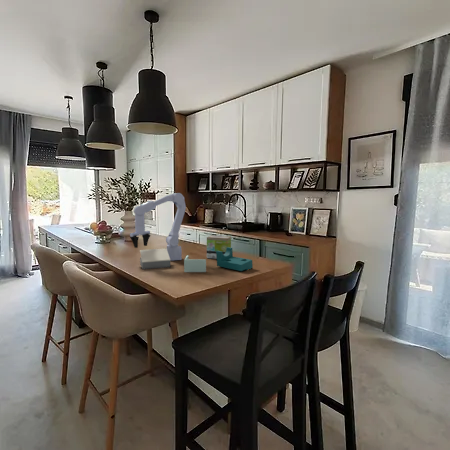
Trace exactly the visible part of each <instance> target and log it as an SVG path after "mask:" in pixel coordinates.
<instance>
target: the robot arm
mask: <svg viewBox="0 0 450 450" xmlns="http://www.w3.org/2000/svg"><path fill="white" fill-rule="evenodd" d="M167 202H172V203H173V204H174V205H175V206H176V208H177V209H176V213H175V216H174V220H173V223H172V226H171V230H170V232H169V233H168V236H166V238H165V242H166V249H167V251H168V254H169V257H170V262H171V261H182V260H183V259H182V246H181V245H179V242H180V241H179V238H180V235H179V234H180V233H179V232H180V229H181V227H182V222H183V219H184V216H185V213H186V208H187V206H186V201H185V196H184V195H183V194H182V193H181V192H177V193H176V192H174V193H170V194H167V195H164V196H162V197H161V198H158V199H156V200H147V202H144V203H140V205H137V206H135V208H134V209H133V213H134V225H135V227H134V228H135V229H134V230H135V231H134V232H131V233H129V238H130V240H131V242H132V244H133V247H134V248H135V249H138V246H139V245H138V244H139V243H138V241H139V236H141V237H142V241H143V246H144V247H146V246H148V243H149V239H150V237H151V231H150V230H146V226H145V225H146V223H145V213H148V212H151V211H153V210H155V209H156V207H157V206H159V205H162V204H164V203H167Z"/></svg>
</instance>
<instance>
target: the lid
mask: <svg viewBox="0 0 450 450" xmlns="http://www.w3.org/2000/svg"><path fill="white" fill-rule="evenodd" d="M139 253H140V258H141V259H142V262H155V261H168V260H170V257H169V254H168V251H167V247H166V248H152V249H151V248H150V249H139Z"/></svg>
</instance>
